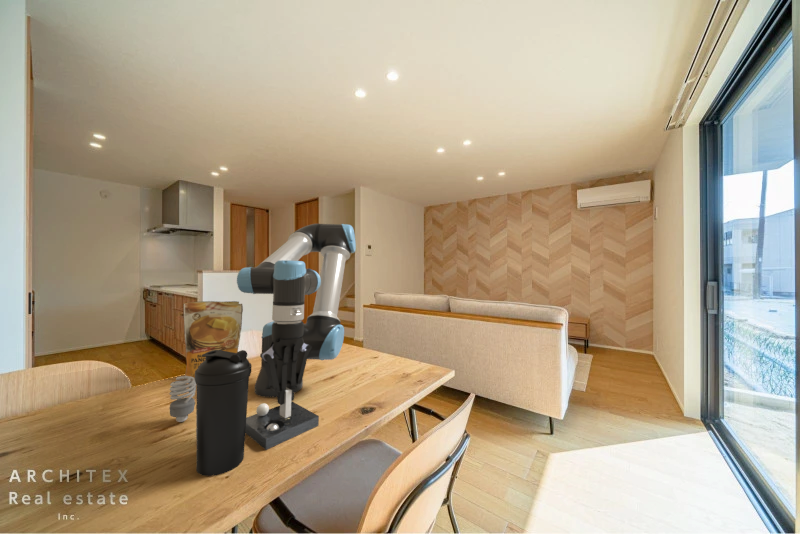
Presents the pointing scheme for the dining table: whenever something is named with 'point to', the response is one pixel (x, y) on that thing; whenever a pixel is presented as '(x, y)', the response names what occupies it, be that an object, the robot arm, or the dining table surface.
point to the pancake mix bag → (210, 330)
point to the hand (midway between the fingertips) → (285, 415)
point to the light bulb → (182, 398)
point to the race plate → (280, 425)
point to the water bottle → (221, 411)
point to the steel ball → (272, 427)
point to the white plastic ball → (262, 409)
